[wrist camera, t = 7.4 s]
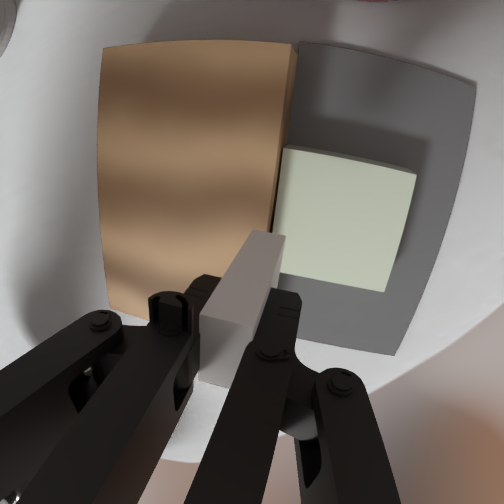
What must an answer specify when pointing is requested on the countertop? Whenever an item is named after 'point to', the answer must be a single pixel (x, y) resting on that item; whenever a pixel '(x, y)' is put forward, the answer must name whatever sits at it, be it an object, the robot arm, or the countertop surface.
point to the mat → (388, 151)
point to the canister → (378, 0)
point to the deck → (187, 158)
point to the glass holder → (6, 22)
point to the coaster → (341, 216)
